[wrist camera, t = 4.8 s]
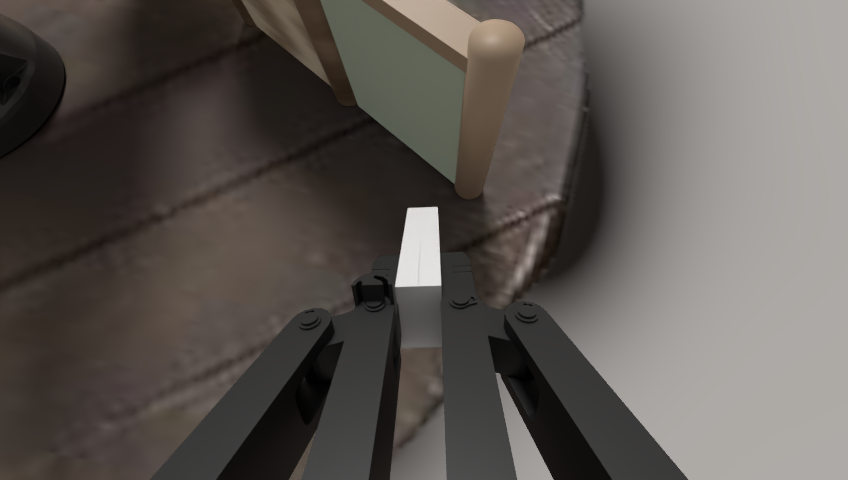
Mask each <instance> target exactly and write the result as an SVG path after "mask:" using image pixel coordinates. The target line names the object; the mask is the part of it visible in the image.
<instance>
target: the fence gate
mask: <svg viewBox="0 0 848 480" xmlns="http://www.w3.org/2000/svg"><path fill="white" fill-rule="evenodd" d="M320 1H321V4H322V7H323V9H324V12H325V15H326V18H327V21H328V23H329V26H330V29H331V32H332V35H333V37H334V40H335V43H336V46H337V48H338V51H339V54H340V57H341V60H342V62H343V65H344V68H345V71H346V74H347V76H348V79H349V82H350V85H351V88H352V90H353V93H354V96H355V99H356V102H357V104H358V106H359V107H360V108H361V109H363V110H364V111H365V112H366V113H368V114H369V115H370V116H371V117H372V118H374V119H375V120H376V121H377V122H379V123H380V124H381V125H382V126H384V127H385V128H386V129H387V130H388V131H390V132H391V133H392V134H393V135H395V136H396V137H397V138H398V139H400V140H401V141H402V142H403V143H405V144H406V145H407V146H408V147H409V148H411V149H412V150H413V151H414V152H416V153H417V154H418V155H419V156H421V157H422V158H423V159H424V160H425V161H427V162H428V163H429V164H430V165H432V166H433V167H434V168H435V169H437V170H438V171H439V172H440V173H441V174H443V175H444V176H445V177H446V178H448V179H449V180H450V181H451V182H453V183H454V184H455V191H456V193H457V194H458V195H459V196H460V197H462V198H464V199H474V198H477V197H478V196H479V195H480V194H481V193H482V191H483V187H484V184H485V180H486V177H487V173H488V170H489V166H490V163H491V159H492V156H493V153H494V149H495V146H496V142H497V139H498V135H499V132H500V128H501V125H502V121H503V118H504V114H505V111H506V107H507V104H508V100H509V97H510V93H511V90H512V86H513V83H514V79H515V76H516V72H517V69H518V66H519V62H520V59H521V55H522V52H523V48H524V44H525V39H524V35H523V33H522V31H521V30H520V29H519V28H518V27H517V26H516V25H515V24H513V23H511V22H509V21H505V20H500V19H493V20H487V21H484V22H482V23H480V22H479V21H477V20H476V19H474V18H473V17H471V16H470V15H468V14H466V13H465V12H463V11H462V10H460V9H459V8H457V7H456V6H454V5H452V4H451V3H449V2H448V1H446V0H320Z"/></svg>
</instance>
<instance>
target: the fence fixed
mask: <svg viewBox="0 0 848 480" xmlns="http://www.w3.org/2000/svg"><path fill="white" fill-rule="evenodd" d="M232 2H233V3H234V5H235V7H236V8H237V10H238V11H239V13H240V15H241V16H242V18H243V19H244V21H245V23H246V24H247V25H249V26H257V27H258V28H260V29H261V30H262V31H263V32H265V33H266V34H267V35H268V36H270V37H271V38H272V39H273V40H274V41H276V42H277V43H278V44H279V45H281V46H282V47H283V48H284V49H286V50H287V51H288V52H289V53H290V54H292V55H293V56H294V57H295V58H297V59H298V60H299V61H300V62H301V63H303V64H304V65H305V66H306V67H308V68H309V69H310V70H311V71H313V72H314V73H315V74H316V75H317V76H319V77H320V78H321V79H322V80H324V81H325V82H326V83H327V84H328V85H330V86H331V87H332V90H333V92H334V94H335V97H336V99H337V101H338V102H339V103H340V104H341V105H344V106H355V105H357V102H356V99H355V96H354V93H353V90H352V88H351V85H350V82H349V79H348V76H347V74H346V71H345V68H344V65H343V62H342V60H341V57H340V54H339V51H338V48H337V46H336V43H335V40H334V37H333V35H332V32H331V29H330V26H329V23H328V21H327V18H326V15H325V12H324V9H323V7H322V4H321V1H320V0H232Z"/></svg>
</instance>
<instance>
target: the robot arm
mask: <svg viewBox="0 0 848 480" xmlns="http://www.w3.org/2000/svg"><path fill="white" fill-rule="evenodd" d="M63 83H64V66H63V62H62V59H61V57H60V55H59V54H58V52H57V51H56V50H55V49H54V48H53V47H52V46H51V45H50V44H49V43H47V42H46V41H44V40H43V39H42V38H40V37H39V36H38V35H36V34H35V33H34V32H32V31H31V30H30V29H28V28H27V27H25V26H24V25H22V24H20V23H19V22H17V21H15V20H13V19H11V18H9V17H7V16H5V15H3V14H0V156H2V155H4V154H6V153H8V152H9V151H11V150H12V149H14V148H15V147H17V146H18V145H20V144H21V143H22V142H24V141H25V140H26V139H27V138H29V137H30V136H31V135H32V134H33V133H34V132H35V131H36V130H37V129H38V128H39V127H40V126H41V125H42V124H43V123H44V121H45V120H46V119H47V118H48V116H49V115H50V113H51V112H52V110H53V109H54V107H55V105H56V103H57V101H58V99H59V97H60V94H61V91H62V88H63ZM352 291H353V296H354V301H355V308H354V310H352V311H350V312H348V313H345V314H341V315H337V316H333V317H331V314H330V313H329V312H328V311H327V310H324V309H321V308H313V309H309V310H305V311H303V312H301V313H299V314H297V315H296V316H295V317H294V318H293V319H292V320H291V321H290V322H289V323H288V324H287V325H286V326H285V328H284V329H283V330H282V331H281V332H280V333H279V334H278V335H277V337H276V338H275V339H274V340H273V341H272V342H271V343H270V345H269V346H268V347H267V348H266V349H265V350H264V351H263V352H262V354H261V355H260V356H259V357H258V358H257V359H256V360H255V361H254V363H253V364H252V365H251V366H250V367H249V368H248V369H247V371H246V372H245V373H244V374H243V375H242V376H241V377H240V378H239V380H238V381H237V382H236V383H235V384H234V385H233V386H232V388H231V389H230V390H229V391H228V392H227V393H226V394H225V395H224V397H223V398H222V399H221V400H220V401H219V402H218V403H217V404H216V406H215V407H214V408H213V409H212V410H211V411H210V412H209V414H208V415H207V416H206V417H205V418H204V419H203V420H202V421H201V423H200V424H199V425H198V426H197V427H196V428H195V429H194V430H193V432H192V433H191V434H190V435H189V436H188V437H187V438H186V440H185V441H184V442H183V443H182V444H181V445H180V446H179V447H178V449H177V450H176V451H175V452H174V453H173V454H172V455H171V457H170V458H169V459H168V460H167V461H166V462H165V463H164V464H163V466H162V467H161V468H160V469H159V470H158V471H157V472H156V473H155V475H154V476H153V477H152V478H151V479H150V480H289V478H290V476H291V475H292V473H293V471H294V469H295V467H296V466H297V464H298V462H299V460H300V458H301V456H302V455H303V453H304V451H305V449H306V447H307V446H308V444H309V442H310V440H311V438H312V437H313V435H314V433H315V431H316V429H317V431H316V434H315V437H314V440H313V444H312V447H311V450H310V453H309V456H308V460H307V463H306V466H305V469H304V473H303V476H302V479H301V480H390V470H391V461H392V450H393V440H394V430H395V420H396V410H397V399H398V389H399V379H400V369H401V354H400V346H401V344H402V348H432V347H442V356H443V384H444V413H445V441H446V468H447V480H517V477H516V472H515V467H514V462H513V457H512V453H511V447H510V443H509V438H508V433H507V428H506V423H505V418H504V413H503V408H502V403H501V399H500V394H499V389H498V384H497V379H496V375H495V372H496V373H500V374H501V378H502V380H503V382H504V384H505V386H506V388H507V390H508V391H509V393H510V395H511V397H512V399H513V401H514V403H515V405H516V407H517V409H518V411H519V413H520V415H521V417H522V419H523V421H524V423H525V424H526V427H527V429H528V430H529V432H530V434H531V436H532V438H533V440H534V442H535V444H536V446H537V448H538V450H539V452H540V454H541V456H542V457H543V460H544V462H545V463H546V465H547V467H548V469H549V471H550V473H551V475H552V477H553V479H554V480H688V479H687V478H686V476H685V475H684V474H683V473H682V472H681V470H680V469H679V468H678V467H677V466H676V464H675V463H674V462H673V461H672V460H671V459H670V457H669V456H668V455H667V454H666V453H665V451H664V450H663V449H662V448H661V447H660V446H659V445H658V443H657V442H656V441H655V440H654V438H653V437H652V436H651V435H650V434H649V432H648V431H647V430H646V429H645V428H644V427H643V425H642V424H641V423H640V422H639V421H638V419H637V418H636V417H635V416H634V415H633V413H632V412H631V411H630V410H629V409H628V408H627V407H626V405H625V404H624V403H623V402H622V400H621V399H620V398H619V397H618V396H617V394H616V393H615V392H614V391H613V390H612V389H611V387H610V386H609V385H608V384H607V383H606V381H605V380H604V379H603V378H602V377H601V376H600V374H599V373H598V372H597V371H596V370H595V368H594V367H593V366H592V365H591V364H590V363H589V361H588V360H587V359H586V358H585V357H584V355H583V354H582V353H581V352H580V351H579V350H578V348H577V347H576V346H575V345H574V344H573V342H572V341H571V340H570V339H569V338H568V336H567V335H566V334H565V333H564V332H563V330H562V329H561V328H560V327H559V326H558V325H557V323H556V322H555V321H554V320H553V319H552V317H551V316H550V315H549V314H548V313H547V311H545V310H544V309H543V308H542V307H541V306H539V305H537V304H534V303H531V302H526V301H521V302H515V303H512V304H510V305H509V306H508V307H507V308H506V310H500V309H495V308H492V307H489V306H487V305H485V304H483V303H482V302H481V301H480V299H479V297H478V296H477V295H476V290H475V285H474V280H473V275H472V270H471V265H470V259H469V257H468V256H467V255H466V254H465V253H464V252H443V253H440V246H439V224H438V207H421V208H408V210H407V216H406V222H405V228H404V234H403V240H402V246H401V252H400V255H381V256H380V257H379V258H378V259H377V260H376V261H375V262H374V264H373V268H372V271H371V274H367V275H364V276H362V277H360V278H358V279H357V280H355V281H354V283H353V284H352Z"/></svg>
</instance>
